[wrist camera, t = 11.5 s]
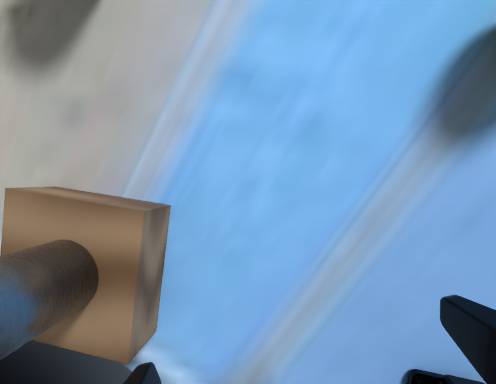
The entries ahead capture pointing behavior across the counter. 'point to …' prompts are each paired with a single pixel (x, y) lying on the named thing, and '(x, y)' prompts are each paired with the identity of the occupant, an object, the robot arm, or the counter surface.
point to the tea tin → (42, 289)
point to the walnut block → (97, 262)
